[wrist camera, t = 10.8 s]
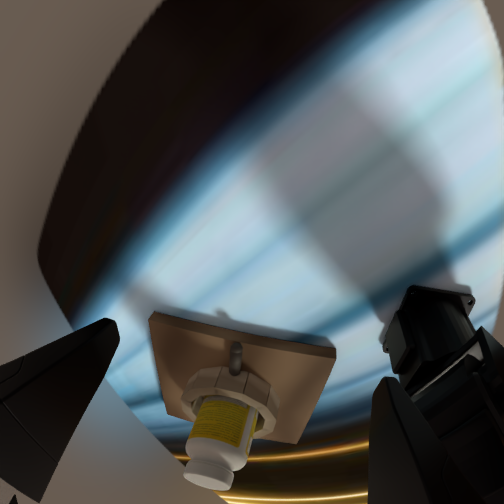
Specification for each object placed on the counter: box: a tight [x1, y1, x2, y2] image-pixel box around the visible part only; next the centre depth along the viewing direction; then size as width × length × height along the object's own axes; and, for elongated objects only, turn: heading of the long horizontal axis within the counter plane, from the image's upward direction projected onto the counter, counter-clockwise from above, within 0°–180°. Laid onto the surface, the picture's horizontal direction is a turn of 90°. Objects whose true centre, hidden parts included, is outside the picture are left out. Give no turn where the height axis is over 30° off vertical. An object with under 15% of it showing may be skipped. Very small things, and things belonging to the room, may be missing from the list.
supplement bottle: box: [183, 395, 259, 490], centre depth 22 cm, size 5×5×10 cm
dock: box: [148, 311, 336, 444], centre depth 26 cm, size 16×16×4 cm
